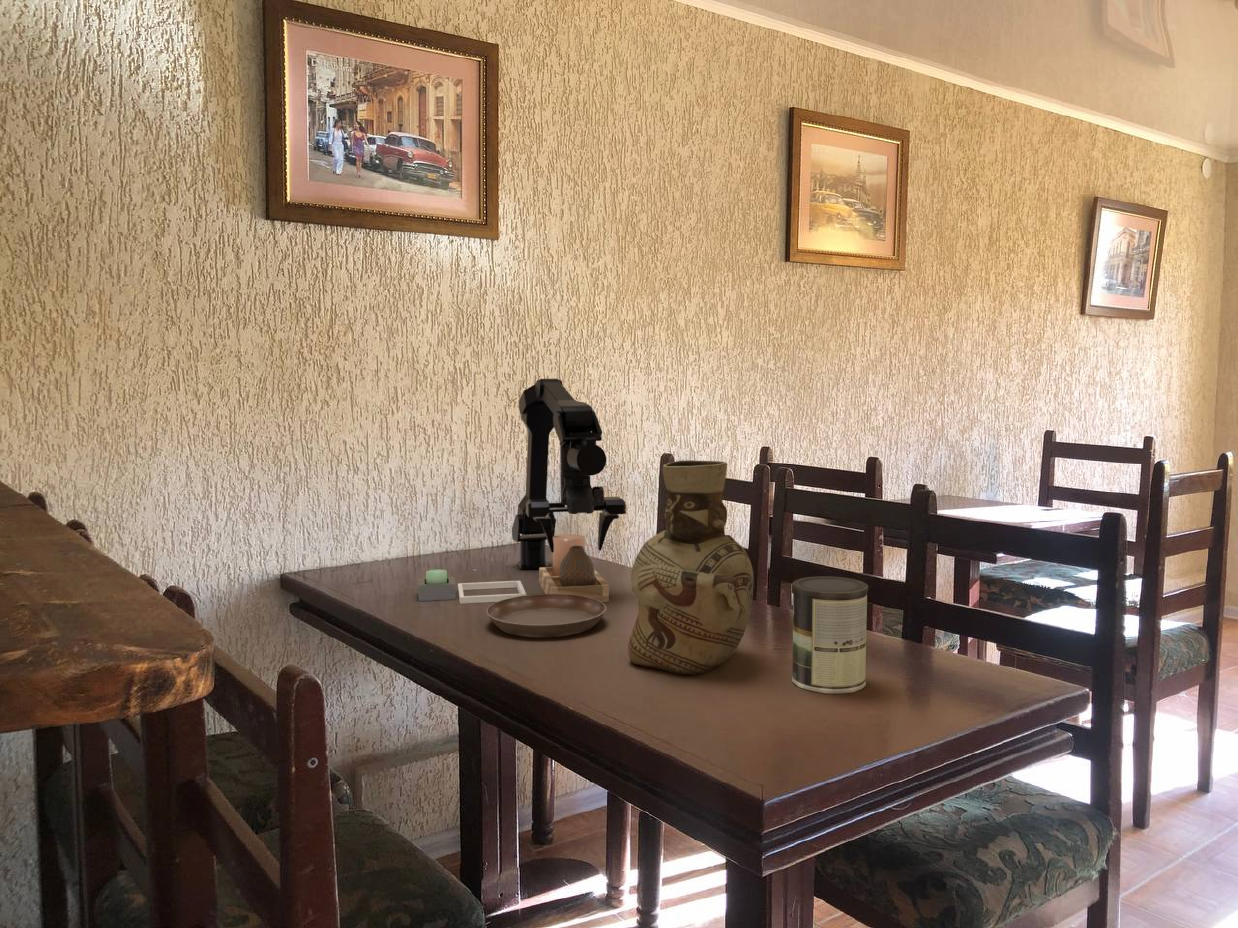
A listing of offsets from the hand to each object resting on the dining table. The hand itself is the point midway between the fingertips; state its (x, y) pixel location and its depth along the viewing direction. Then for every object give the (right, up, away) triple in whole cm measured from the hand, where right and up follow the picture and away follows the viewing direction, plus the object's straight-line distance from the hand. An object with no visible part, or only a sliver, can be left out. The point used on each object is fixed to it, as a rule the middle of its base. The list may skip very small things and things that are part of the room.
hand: (576, 551), depth 190 cm
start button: (-27, -9, +3) cm, 29 cm away
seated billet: (-2, -7, +11) cm, 13 cm away
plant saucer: (-4, -12, -19) cm, 23 cm away
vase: (0, -8, +1) cm, 8 cm away
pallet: (-1, -9, +6) cm, 10 cm away
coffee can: (+38, -14, -51) cm, 65 cm away
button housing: (-27, -9, +3) cm, 29 cm away
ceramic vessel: (+19, -13, -40) cm, 46 cm away
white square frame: (-17, -9, +4) cm, 19 cm away
